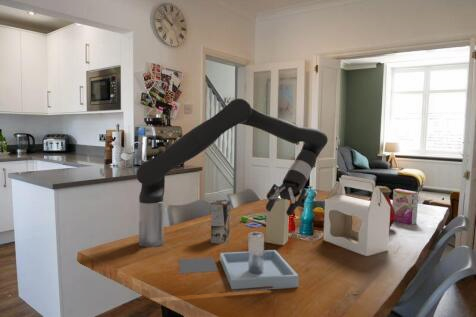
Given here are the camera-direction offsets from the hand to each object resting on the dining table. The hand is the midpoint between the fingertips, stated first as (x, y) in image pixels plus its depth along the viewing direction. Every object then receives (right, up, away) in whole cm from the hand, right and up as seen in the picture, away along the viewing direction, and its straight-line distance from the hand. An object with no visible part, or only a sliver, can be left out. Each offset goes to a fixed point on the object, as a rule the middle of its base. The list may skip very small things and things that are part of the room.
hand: (277, 212), depth 116 cm
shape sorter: (+3, -14, +60) cm, 62 cm away
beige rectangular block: (+3, -16, +27) cm, 31 cm away
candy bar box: (+72, -15, +61) cm, 96 cm away
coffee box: (-21, -16, +27) cm, 37 cm away
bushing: (-8, -18, -6) cm, 20 cm away
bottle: (+54, -15, +50) cm, 75 cm away
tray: (-8, -19, -6) cm, 21 cm away
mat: (-27, -18, -2) cm, 32 cm away
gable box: (+34, -17, +24) cm, 45 cm away
